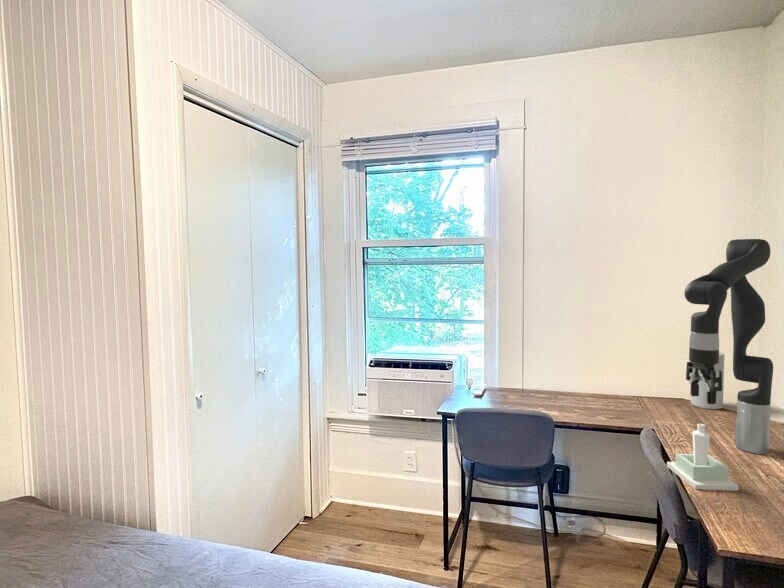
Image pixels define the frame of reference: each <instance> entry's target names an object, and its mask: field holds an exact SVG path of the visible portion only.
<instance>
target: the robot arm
mask: <svg viewBox="0 0 784 588" xmlns="http://www.w3.org/2000/svg"><path fill="white" fill-rule="evenodd" d="M725 256H726V257H725V259H726V262H723V263H721V264H719V265H717V266H716V267H714V268H713V269H712V270H711V271H710V272H709V273H707V274H705V275H701V276H700V277H697V278H695V279H693V280H691V281H690V282H689V283H688V284H687V285H686V286H685V289H684V298H685V299H686V301H687V302H688V303H690V304H692V305H703V306H704V305H706V306H708V307H707V309H706V310H705V311H699V312H695V313H692V314H691V316H690V317H691V318H690V335H689V348H688V349H689V350H688V351H689V352H688V361H687V362H686V369H685V371H686V372H685V381H688V383H689V384H690V393H689V394H690V395H689V396H690V397H691V396H699V382H700V381H702V382H703V384H704V385H706V388H707V403H708V404H715V403H716V392H718V391H722V371H716V370H715V369H714V365H715V364H718V363H719V352H720V336H719V335H720V334H719V333H720V332H719V330H720V329H719V328H720V317H721V314H722V312H723V308H724V305H725V303H726V300H727V297H728V290H730V312H731V325H732V337H733V343H732V345H733V347H732V348H733V350H732V352H733V353H732V372H733V376H734V378H735V379H736V380H737V381H740V382H741V381H742V382H748V383H754V384H758V385H757V387H755V388H753V389H745V390H744V389H743V390H739V391H738V393H737V397H736V398H737V403H736V410H737V411H736V418H735V422H734V423H735V424H734V445H735V447H736V448H737V449H739V450H741V451H743V452H746V453H750V454H754V455H755V454H757V455H765V454H766V455H767V454H769V449H770V428H771V427H770V425H771V397H772V387H773V386H772V385H773V375H774V364H773V360H772V359H770V358H769V357H764V356H763V357H762V356H757V355H756V356H755V355H747V349H748V346H749V344H750V343H751V341H752V340H753V339H754V338H755V336H757V334H758V333H760V331H761V330H762V328H763V326H764V325H765V323H766V306H765V302H764V300H763V298H762V297H761V295H760V294H759V293H758V291H756V289H755V288H754V287H753V285H751V283H750V282H749V281H748V278H747V277H746V276H747V275H749V274H750V273H752V272H754V271H756V270H758V269H759V268H762V267H763V266H764V265H766V264H767V262H768V261H769V260H770V257H771V246H770V243H769V242H768V241H767V240H765V239H761V238H745V239H744V238H742V239H741V238H739V239H731V240H729V242H727V246H726V251H725ZM710 380H711V381H710ZM716 383H718V387H717V385H716ZM710 385H711V387H710Z"/></svg>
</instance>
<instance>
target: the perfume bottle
mask: <svg viewBox="0 0 784 588" xmlns="http://www.w3.org/2000/svg"><path fill="white" fill-rule="evenodd" d="M696 425H697V429H696V430H693V431H692V448H693V450H692V451H693V454H694V465H707V458H708V454H709V447H710V439H711V434H710V433H708V432H707V431H706V424H703V423H697V424H696Z"/></svg>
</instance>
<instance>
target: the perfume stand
mask: <svg viewBox="0 0 784 588" xmlns="http://www.w3.org/2000/svg"><path fill="white" fill-rule="evenodd" d="M666 467H667V468H668V469H670V471H672V472H673V473H674V474H675V475H677V476H678V477H679V478H680V479H682V480H683V481H684V482H685V483H687V484H688V486H690V487H691V486H692V487H691V488H693V490H695V489H703V490H702V491H704V490H705V491H733V492H735V491H738V492H739V488H740V487H739V485H738V484H737V483H735V482H734V481H733V480H731V479H730V478H729V466H727V465H725V464H724V463H722V462H721V461H719V460H717V459H716V458H715V457H713V456H711V455H710V454H709V453H708V458H707V465H694V453H675V461H666Z"/></svg>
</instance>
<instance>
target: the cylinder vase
mask: <svg viewBox="0 0 784 588" xmlns="http://www.w3.org/2000/svg"><path fill="white" fill-rule="evenodd" d="M714 369H715V370H716V371H722V391H718V392H716V403H715V404H708V403H707V388H706V385H704V384H703V382H702V381H700V382H699V396H691V395H690V404H691V405H692V406H693V407H697V408H700V409H706V410H721V409H723V407H724V387H725V386H724V385H725V384H724V383H725V382H724V380H725V353H724V352H720V351H719V363H718V364H715V365H714ZM710 381H711V380H710ZM716 385H717V387H718V383H716ZM710 387H711V385H710Z"/></svg>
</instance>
